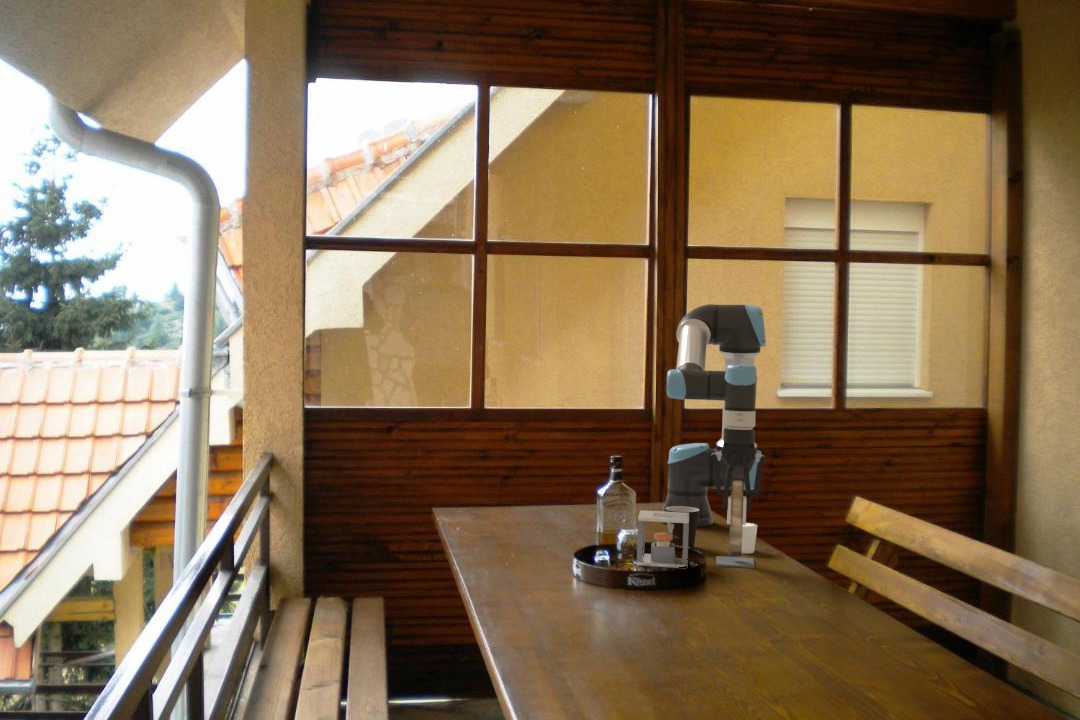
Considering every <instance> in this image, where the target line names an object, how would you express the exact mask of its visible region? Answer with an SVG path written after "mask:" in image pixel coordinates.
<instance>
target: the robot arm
mask: <svg viewBox="0 0 1080 720" xmlns="http://www.w3.org/2000/svg"><path fill="white" fill-rule="evenodd" d="M764 321H765V320H764V314H763V310H762V308H761V307H760V306H758V305H752V304H713V303H711V304H710V303H709V304H703V305H700V306H698V307H696V308H693V309H692V310H690V311H689V312H687V313H686V314H685V315H684V316H683V317H682V318H681V320H680V321H679V322H678V324H677V329H676V340H677V343H678V350H677V359H676V368H675V369H674V368H673V369H669V370H668V371H667V373H666V374H667V375H666V396H667V397H668V398H669V399H674V400H675V399H676V400H680V401H681V400H682V401H683V400H699V401H701V400H702V401H707V400H708V401H722V420H721V421H722V426H721V427H722V428H721V438H720V439H719V440H718V441H717V442H716V445H715V446H716V447H715V448H710V445H709V444H708V443H706V442H705V443H704V442H702V443H701V442H694V443H685V444H684V443H683V444H678V445H675V446H672V447H671V448H670V450H668V451H669V453H668V461H667V464H668V472H667V473H668V475H667V477H668V478H667V494H666V495H667V496H666V498H665V499H666V500H665V502H664V505H663V507H662V510H661V511H664V512H666V508H667V507H672V506H685V507H693V508H697V509H699V516H698V523H697V528H702V527H703V528H704V527H708V526H711V525H713V520H714V519H713V514H712V510H711V507H710V502H709V499H708V489H714V490H715V491H716V494H717V495H721V496H722V509H723V511H724V510H725V511H726V512H727V513H726V514H727V516H726V524H727V525H730V524H731V495H729V494H730V490H731V481H743V482H744V491H745V496H743V522H742V525H746V523H747V512H751V510H752V498H753V497H757V496H759V495H760V488H761V481H762V474H763V467H764V464H765V463H766V460H767V457H766V456H765V455H764V454H762V451H761V450H758V448H757V447H758V444H757V443H756V441H755V438H756V437H755V435H756V431H755V429H754V428H755V427H756V409H757V408H756V405H757V402H756V401H757V400H756V399H757V384H758V383H757V382H758V376H757V375H758V374H757V370H758V369H757V366H755V361H756V360H755V359H756V357H757V356H758V355H759V354H760V353H761V347H762V348H763V347H765V346H766V344H767V342H766V331H765V330H766V329H765V322H764ZM707 345H713V346H719V347H718V348H719V350H718V351H719V353H720V354H721V355H722V356H723V357H724V359H723V360H724V364H723V370H706V362H707V361H706V360H707V358H706V357H707ZM660 517H664V516H660ZM661 523H663V524H665V525H667V522H661Z"/></svg>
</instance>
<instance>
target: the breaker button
mask: <svg viewBox="0 0 1080 720" xmlns="http://www.w3.org/2000/svg"><path fill="white" fill-rule="evenodd" d="M672 537H673V535H672V534H670V533H668V532H656V533H654V534H653V539H654V540H656V542H657V546H663V547H670V541H671V540H672Z"/></svg>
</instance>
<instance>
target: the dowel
mask: <svg viewBox="0 0 1080 720" xmlns="http://www.w3.org/2000/svg"><path fill="white" fill-rule="evenodd" d="M744 492H745V490H744V482H743V481H731V489H730V496H731V524H729V546H728V547H729V548H728V549H729V551H728V554H729V556H730V557H741V556H742V555H743V553H742V527H743V525H742V522H743V497H745V496H744V494H745V493H744Z"/></svg>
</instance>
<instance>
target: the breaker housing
mask: <svg viewBox="0 0 1080 720" xmlns="http://www.w3.org/2000/svg"><path fill="white" fill-rule="evenodd" d="M661 516H664V517H661ZM646 522H655V523H660V522H661V523H662V522H672V523H683V550H682V555H681V556H682V558H675V553H676V551H675V550H676V549H675V544H673V543H670V547H663V546H657V541H653V542H651V544H650V545H651V546H650V553H644V556H643V558H642V547H643V550H644V551H645V535H646V533H645V531H646ZM688 534H689V513H683V512H664V511H662V510H646V509H645V510H643V509H641V510H640V511H639V513H638V517H637V540H636V541H637V542H636V543H637V544H636V546H637V547H636V548H637V549H636V566H638V567H639V566H640V567H658V568H674V569H680V568H679V567H684V566H687V567H688V563H689V562H688V561H689V550H688ZM687 559H688V560H687Z"/></svg>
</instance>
